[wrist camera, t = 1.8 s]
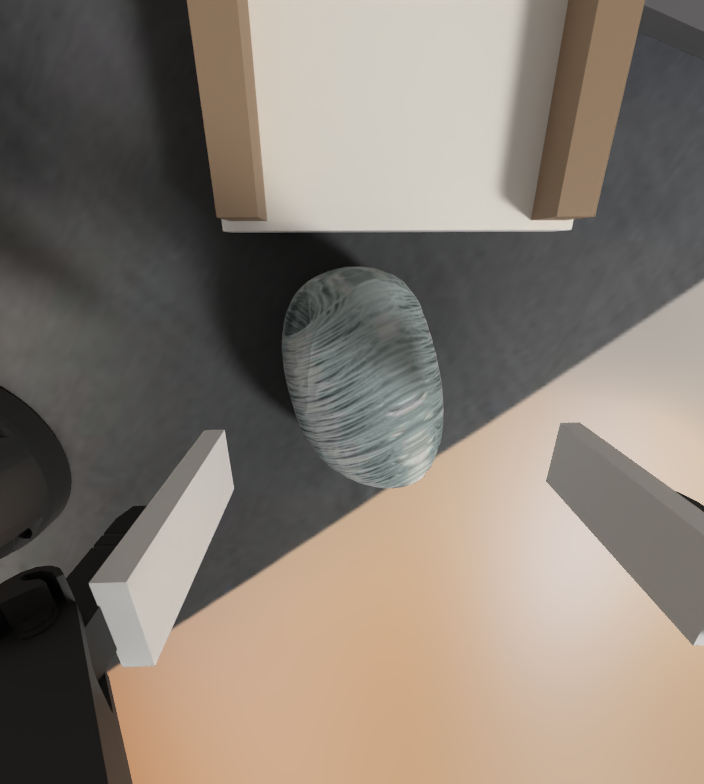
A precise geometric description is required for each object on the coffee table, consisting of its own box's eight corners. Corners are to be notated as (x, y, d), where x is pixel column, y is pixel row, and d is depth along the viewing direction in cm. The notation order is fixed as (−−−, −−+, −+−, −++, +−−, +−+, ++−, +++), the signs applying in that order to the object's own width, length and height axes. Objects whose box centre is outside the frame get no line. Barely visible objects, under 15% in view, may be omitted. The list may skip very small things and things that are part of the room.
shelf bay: (232, 232, 21) (207, 228, 17) (182, -169, 15) (126, -326, 11) (551, 231, 22) (601, 227, 18) (624, -151, 16) (726, -291, 12)
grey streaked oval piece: (228, 278, 19) (309, 339, 12) (369, 234, 23) (497, 261, 15) (289, 449, 27) (358, 547, 20) (386, 398, 31) (475, 466, 24)
